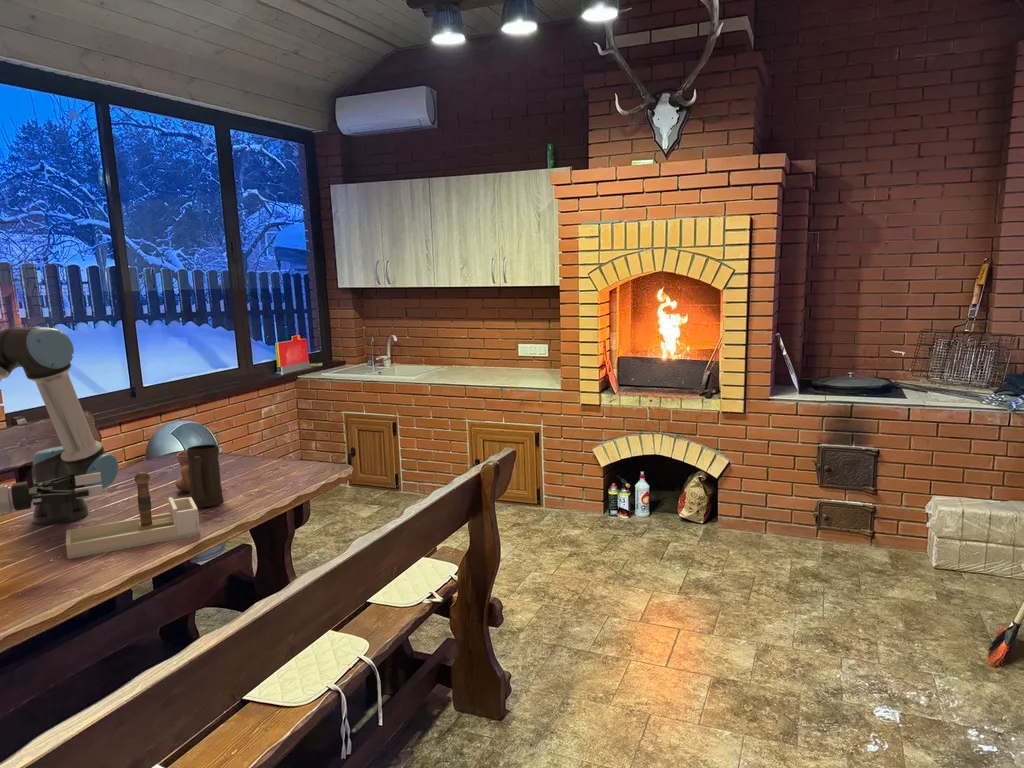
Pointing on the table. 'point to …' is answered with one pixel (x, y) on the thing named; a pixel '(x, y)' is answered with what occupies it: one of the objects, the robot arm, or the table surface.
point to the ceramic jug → (183, 472)
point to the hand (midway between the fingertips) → (101, 483)
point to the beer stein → (204, 475)
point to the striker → (148, 505)
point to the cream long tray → (133, 531)
